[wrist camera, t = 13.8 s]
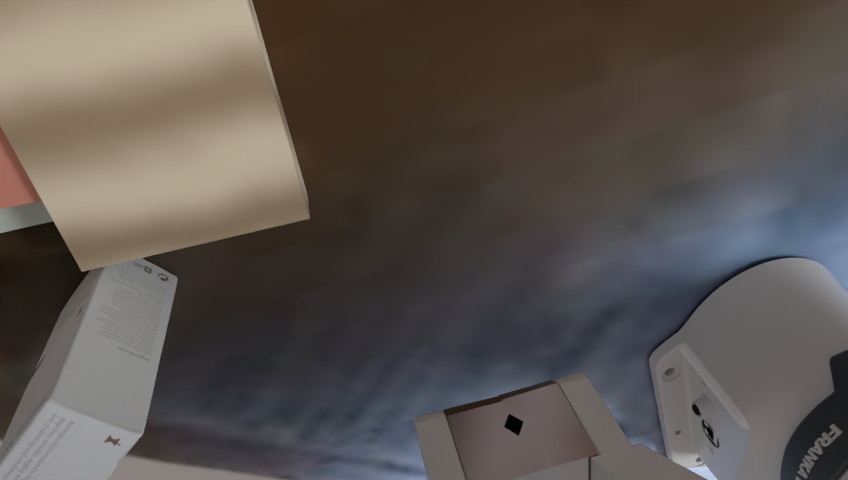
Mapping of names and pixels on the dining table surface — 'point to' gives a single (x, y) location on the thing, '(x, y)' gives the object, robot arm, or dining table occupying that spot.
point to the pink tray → (13, 178)
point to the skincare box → (92, 377)
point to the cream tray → (147, 123)
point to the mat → (23, 216)
